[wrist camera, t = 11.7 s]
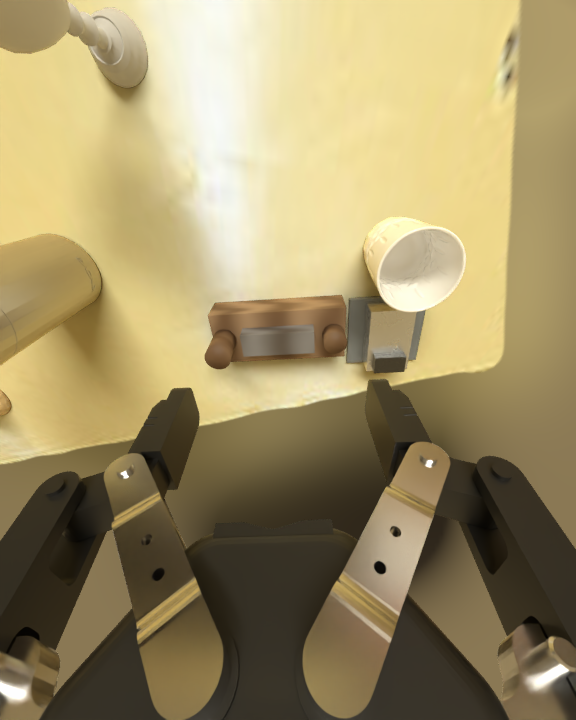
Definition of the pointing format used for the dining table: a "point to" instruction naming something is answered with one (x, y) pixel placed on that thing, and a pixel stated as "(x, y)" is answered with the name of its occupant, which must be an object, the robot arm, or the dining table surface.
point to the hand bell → (4, 404)
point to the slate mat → (358, 325)
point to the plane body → (276, 330)
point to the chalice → (99, 31)
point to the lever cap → (387, 338)
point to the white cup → (413, 263)
